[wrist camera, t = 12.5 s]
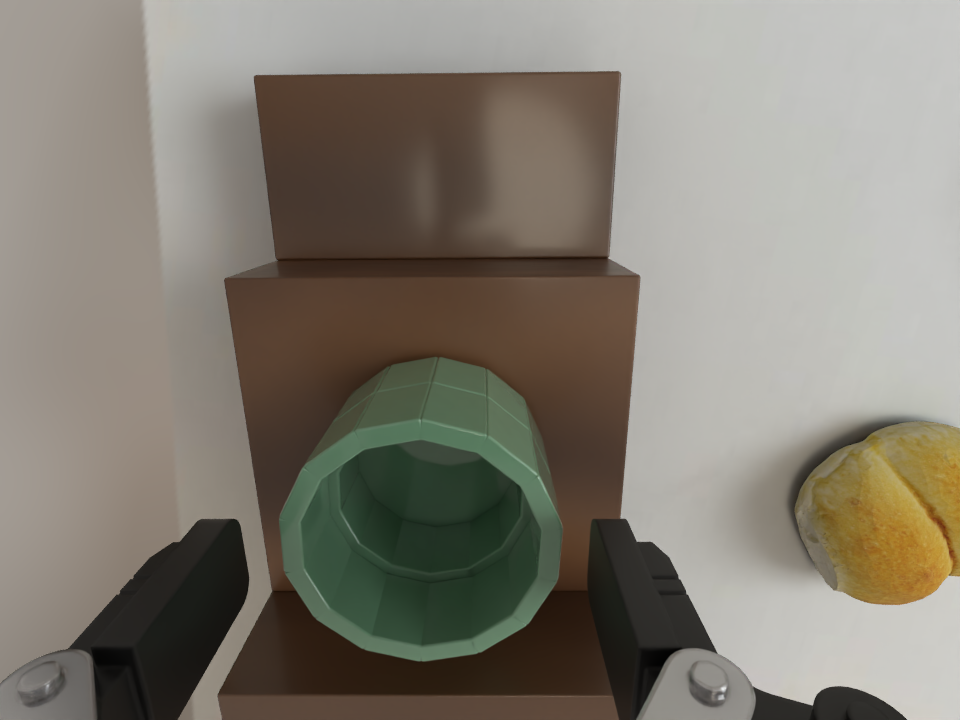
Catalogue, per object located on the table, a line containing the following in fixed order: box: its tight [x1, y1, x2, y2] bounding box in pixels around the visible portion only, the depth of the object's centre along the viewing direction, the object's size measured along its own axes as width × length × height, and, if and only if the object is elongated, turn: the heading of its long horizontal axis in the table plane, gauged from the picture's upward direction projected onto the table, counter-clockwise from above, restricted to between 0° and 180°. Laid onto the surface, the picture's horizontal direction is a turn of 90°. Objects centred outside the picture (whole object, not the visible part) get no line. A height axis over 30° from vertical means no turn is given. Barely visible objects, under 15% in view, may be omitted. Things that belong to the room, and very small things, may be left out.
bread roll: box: [794, 421, 960, 605], centre depth 23 cm, size 8×9×4 cm
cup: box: [279, 357, 563, 662], centre depth 14 cm, size 6×6×5 cm
